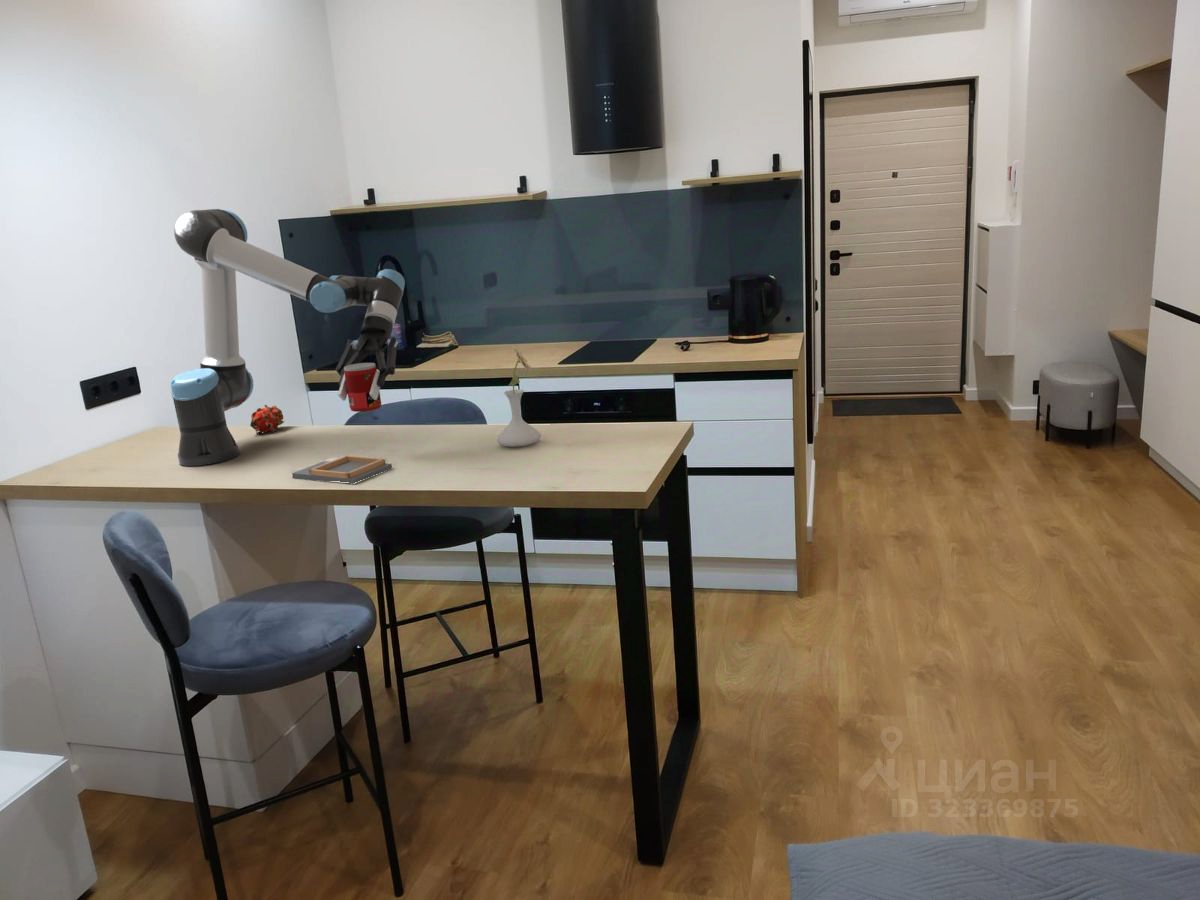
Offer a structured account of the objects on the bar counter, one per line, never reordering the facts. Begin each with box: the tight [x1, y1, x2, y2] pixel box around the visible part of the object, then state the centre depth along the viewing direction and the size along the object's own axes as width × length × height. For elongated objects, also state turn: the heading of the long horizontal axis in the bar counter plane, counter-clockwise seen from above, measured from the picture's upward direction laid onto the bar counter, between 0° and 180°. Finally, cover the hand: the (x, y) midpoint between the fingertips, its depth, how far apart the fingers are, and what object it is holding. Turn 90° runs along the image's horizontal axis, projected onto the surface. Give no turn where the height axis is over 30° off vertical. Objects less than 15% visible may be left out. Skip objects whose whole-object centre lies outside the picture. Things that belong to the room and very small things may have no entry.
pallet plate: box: [291, 455, 393, 483], centre depth 224 cm, size 20×13×2 cm, turn 60°
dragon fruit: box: [249, 404, 285, 435], centre depth 276 cm, size 8×8×12 cm
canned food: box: [344, 362, 382, 413], centre depth 233 cm, size 8×8×11 cm
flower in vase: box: [496, 345, 542, 448], centre depth 235 cm, size 13×11×25 cm
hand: (357, 397), depth 230 cm, fingers closed on canned food, 8 cm apart
